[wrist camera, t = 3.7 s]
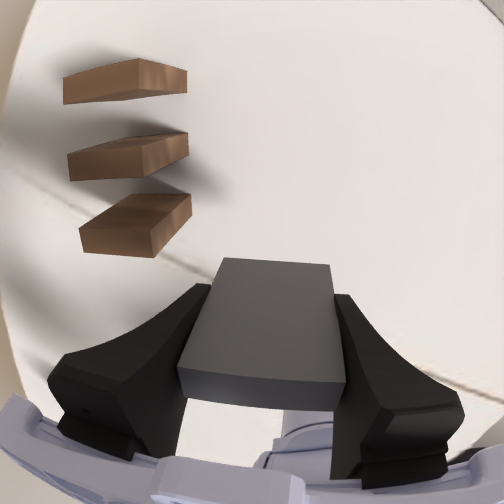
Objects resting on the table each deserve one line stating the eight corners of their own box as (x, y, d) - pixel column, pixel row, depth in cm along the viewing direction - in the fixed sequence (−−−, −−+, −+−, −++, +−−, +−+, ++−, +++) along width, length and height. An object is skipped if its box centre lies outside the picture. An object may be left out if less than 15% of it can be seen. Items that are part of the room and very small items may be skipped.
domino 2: (188, 155, 21) (144, 177, 14) (127, 158, 21) (70, 181, 15) (188, 133, 20) (141, 146, 14) (126, 137, 21) (67, 154, 14)
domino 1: (187, 92, 19) (139, 88, 12) (124, 100, 19) (63, 104, 13) (186, 70, 18) (138, 58, 12) (124, 80, 19) (62, 77, 12)
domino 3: (192, 215, 23) (153, 258, 16) (133, 213, 23) (83, 252, 17) (190, 194, 22) (149, 231, 16) (131, 194, 23) (78, 228, 16)
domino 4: (325, 292, 15) (335, 411, 9) (225, 285, 16) (184, 397, 9) (329, 264, 14) (346, 382, 8) (223, 257, 15) (177, 366, 9)
